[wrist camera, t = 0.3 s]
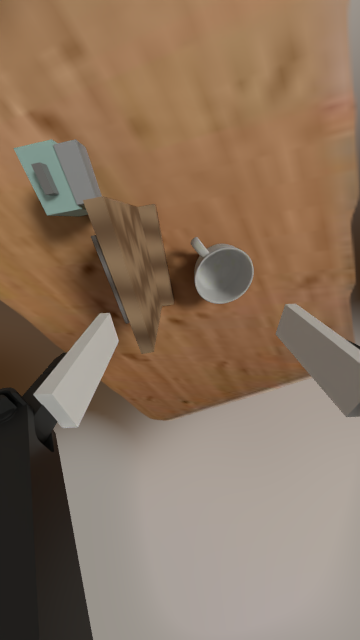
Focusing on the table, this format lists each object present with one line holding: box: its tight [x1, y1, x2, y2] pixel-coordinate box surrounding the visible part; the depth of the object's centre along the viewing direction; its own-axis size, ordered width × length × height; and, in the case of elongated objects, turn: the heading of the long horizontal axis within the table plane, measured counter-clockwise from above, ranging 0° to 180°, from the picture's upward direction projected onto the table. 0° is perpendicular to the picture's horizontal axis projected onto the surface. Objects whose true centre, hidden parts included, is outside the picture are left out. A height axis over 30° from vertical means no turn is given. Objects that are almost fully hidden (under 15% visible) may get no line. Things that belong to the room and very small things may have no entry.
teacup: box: [191, 237, 254, 304], centre depth 33 cm, size 14×11×8 cm
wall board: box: [83, 196, 174, 354], centre depth 28 cm, size 20×8×18 cm, turn 9°
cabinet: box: [14, 139, 101, 216], centre depth 25 cm, size 7×9×10 cm
